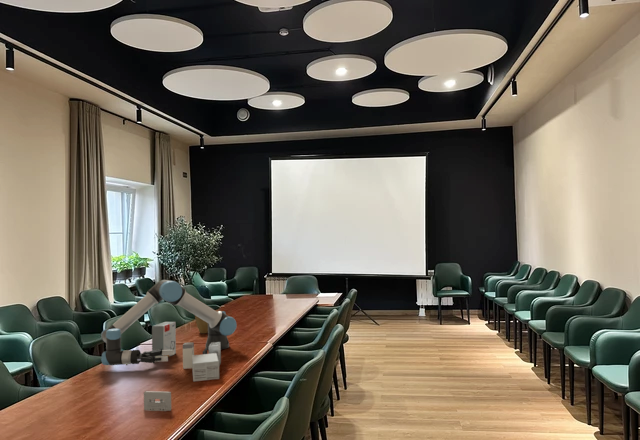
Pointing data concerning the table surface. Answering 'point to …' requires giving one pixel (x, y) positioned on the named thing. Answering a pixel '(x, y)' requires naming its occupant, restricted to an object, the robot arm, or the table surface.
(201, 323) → the plant pot
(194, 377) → the supplement box
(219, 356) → the grey boxy device
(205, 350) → the plate
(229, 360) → the table surface
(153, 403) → the cassette
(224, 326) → the robot arm
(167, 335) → the hard drive box
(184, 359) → the white and grey box
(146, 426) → the table surface
